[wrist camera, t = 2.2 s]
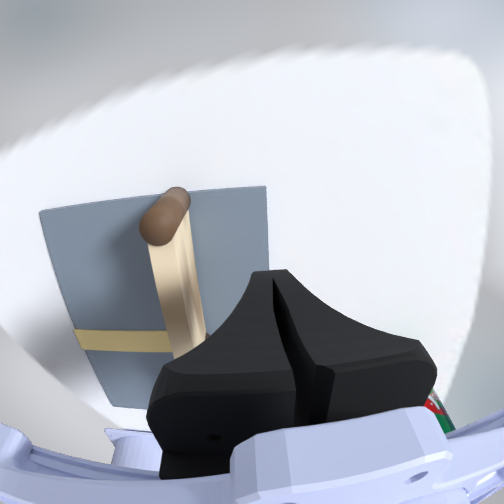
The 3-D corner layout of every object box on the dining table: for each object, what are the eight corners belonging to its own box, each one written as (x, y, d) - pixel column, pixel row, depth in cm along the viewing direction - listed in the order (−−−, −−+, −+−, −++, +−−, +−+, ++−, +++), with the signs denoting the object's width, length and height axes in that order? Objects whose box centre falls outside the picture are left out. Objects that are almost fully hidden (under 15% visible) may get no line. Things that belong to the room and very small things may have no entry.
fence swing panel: (208, 330, 21) (203, 379, 16) (185, 331, 21) (175, 379, 16) (189, 185, 17) (172, 208, 12) (161, 188, 17) (136, 212, 12)
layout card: (271, 404, 25) (272, 409, 25) (112, 403, 25) (110, 406, 25) (265, 185, 18) (266, 187, 17) (40, 210, 17) (36, 212, 17)
